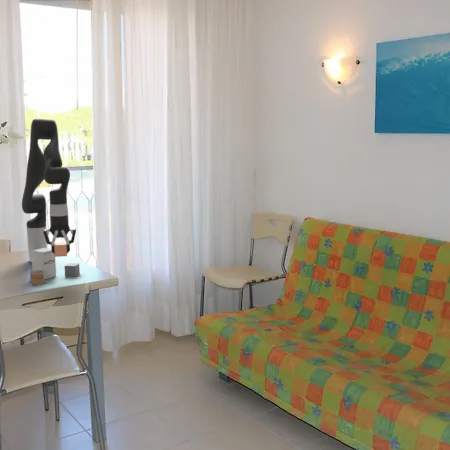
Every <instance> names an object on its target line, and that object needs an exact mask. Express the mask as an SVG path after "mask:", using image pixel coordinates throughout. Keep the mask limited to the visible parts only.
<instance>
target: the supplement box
mask: <svg viewBox="0 0 450 450" xmlns="http://www.w3.org/2000/svg"><path fill="white" fill-rule="evenodd" d="M31 265H32V266H31V268H32V269H31V271H40V270H42V271H43V275H44V281H45V280H48V279H52V278H56V277H57V271H56V270H57V269H56V267H57V263H56V257H55V254H53V253H52V248H48V247H47V248H42V249H37V250H33V251H32V262H31Z"/></svg>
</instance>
